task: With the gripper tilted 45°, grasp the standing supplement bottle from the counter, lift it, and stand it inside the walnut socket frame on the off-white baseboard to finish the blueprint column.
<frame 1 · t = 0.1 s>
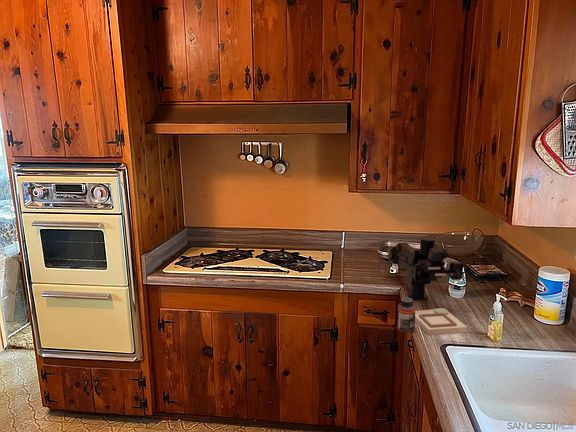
hand: (448, 278, 154), 17 cm above the table, tool horizontal, fingers open, 9 cm apart
supplement bottle: (405, 330, 151), on the table
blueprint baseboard: (436, 323, 156), on the table
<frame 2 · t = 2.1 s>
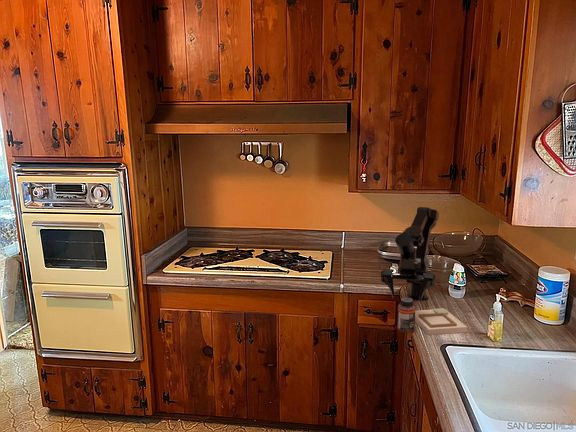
hand: (406, 299, 152), 10 cm above the table, tool tilted 45°, fingers open, 9 cm apart
nothing on the table moved.
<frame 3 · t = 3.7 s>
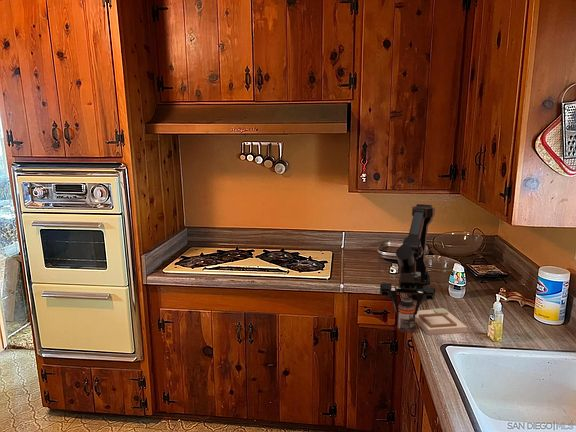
hand: (406, 313, 149), 7 cm above the table, tool tilted 45°, fingers closed on supplement bottle, 6 cm apart
supplement bottle: (405, 330, 151), on the table, touching gripper
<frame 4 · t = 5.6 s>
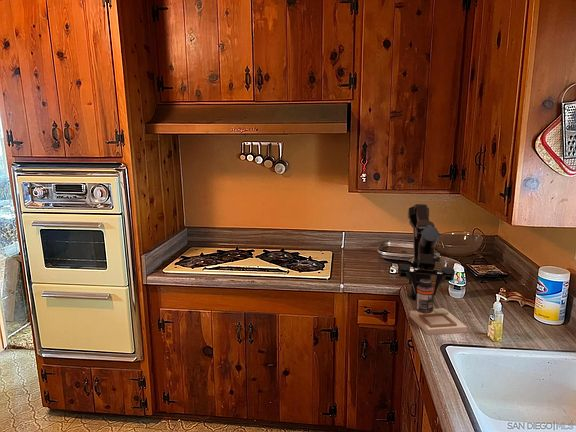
hand: (425, 294, 149), 13 cm above the table, tool tilted 45°, fingers closed on supplement bottle, 6 cm apart
supplement bottle: (424, 311, 152), point 6 cm above the table, touching gripper
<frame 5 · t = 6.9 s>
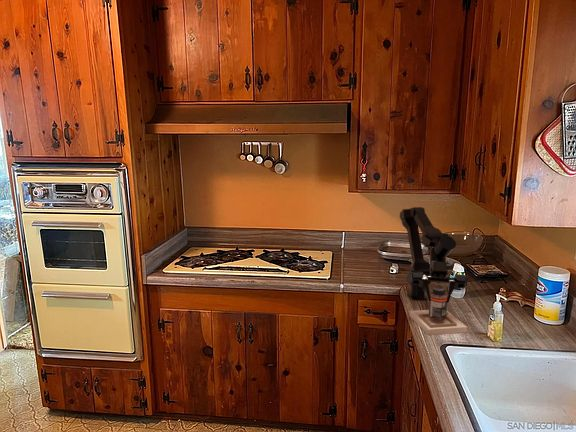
hand: (438, 301, 151), 10 cm above the table, tool tilted 45°, fingers closed on supplement bottle, 6 cm apart
supplement bottle: (437, 318, 153), point 3 cm above the table, touching gripper
when the fingers open (10 cm above the table, at t = 7.6 s): supplement bottle stays where it is, resting on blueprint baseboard.
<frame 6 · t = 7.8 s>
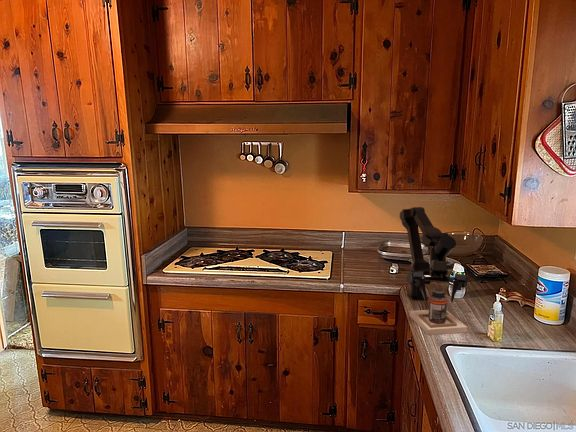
hand: (438, 301, 150), 10 cm above the table, tool tilted 45°, fingers open, 8 cm apart
supplement bottle: (436, 321, 153), point 2 cm above the table, touching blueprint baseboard
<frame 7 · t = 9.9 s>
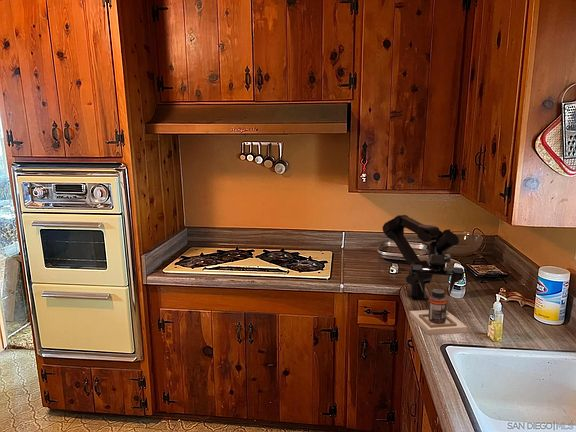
hand: (436, 293, 158), 10 cm above the table, tool tilted 45°, fingers open, 9 cm apart
nothing on the table moved.
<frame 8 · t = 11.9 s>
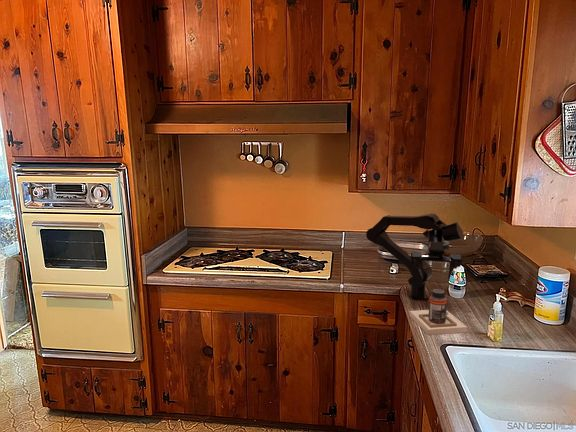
hand: (435, 278, 163), 14 cm above the table, tool tilted 45°, fingers open, 9 cm apart
nothing on the table moved.
at the end: supplement bottle 0.2 cm from the target spot on the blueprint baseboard, point 1.8 cm above the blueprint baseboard's base; supplement bottle tilted 0°; the gripper is holding nothing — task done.
